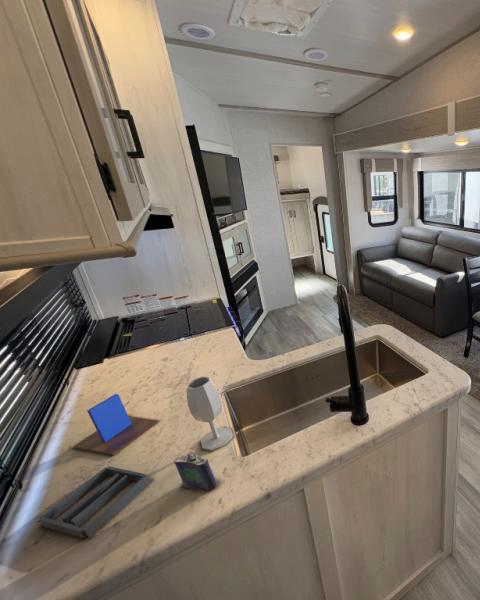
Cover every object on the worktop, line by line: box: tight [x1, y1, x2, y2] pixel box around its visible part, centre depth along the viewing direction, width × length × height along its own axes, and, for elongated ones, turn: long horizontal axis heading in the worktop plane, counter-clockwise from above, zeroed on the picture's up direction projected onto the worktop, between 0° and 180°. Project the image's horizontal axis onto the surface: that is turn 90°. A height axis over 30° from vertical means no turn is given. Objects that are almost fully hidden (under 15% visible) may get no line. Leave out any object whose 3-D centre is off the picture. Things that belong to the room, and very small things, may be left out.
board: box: [73, 415, 158, 456], centre depth 99 cm, size 16×14×1 cm
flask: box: [173, 450, 218, 492], centre depth 78 cm, size 9×3×11 cm, turn 79°
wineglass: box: [185, 376, 234, 452], centre depth 91 cm, size 9×9×21 cm
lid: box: [86, 393, 132, 442], centre depth 97 cm, size 1×8×12 cm, turn 166°
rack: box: [39, 466, 151, 540], centre depth 76 cm, size 15×15×2 cm
